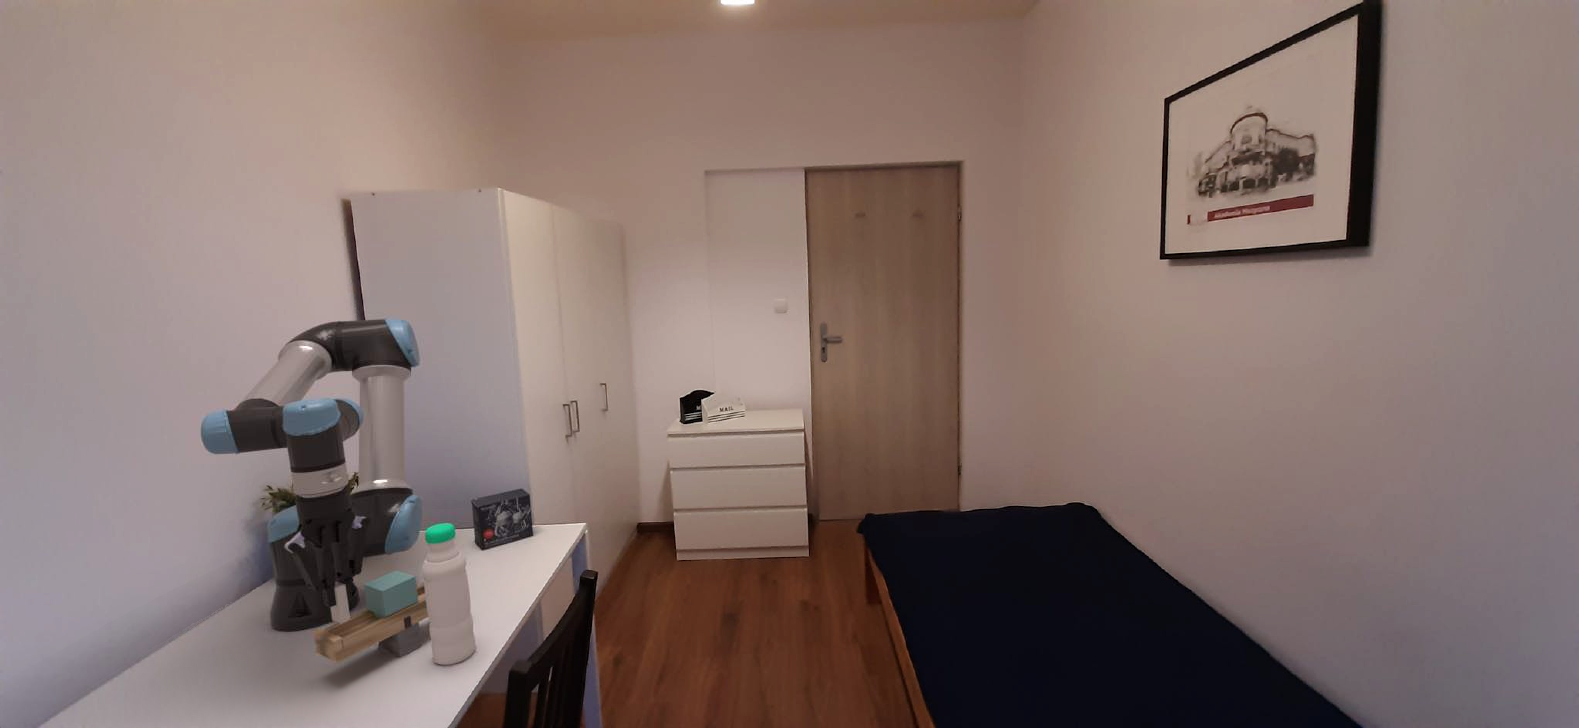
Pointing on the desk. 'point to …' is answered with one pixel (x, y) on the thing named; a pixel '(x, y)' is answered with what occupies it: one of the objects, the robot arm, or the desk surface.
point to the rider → (390, 593)
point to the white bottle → (447, 597)
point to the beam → (374, 632)
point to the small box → (502, 518)
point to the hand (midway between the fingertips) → (341, 619)
